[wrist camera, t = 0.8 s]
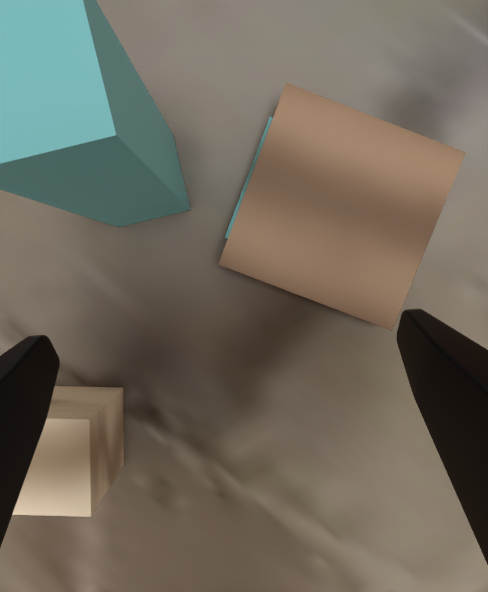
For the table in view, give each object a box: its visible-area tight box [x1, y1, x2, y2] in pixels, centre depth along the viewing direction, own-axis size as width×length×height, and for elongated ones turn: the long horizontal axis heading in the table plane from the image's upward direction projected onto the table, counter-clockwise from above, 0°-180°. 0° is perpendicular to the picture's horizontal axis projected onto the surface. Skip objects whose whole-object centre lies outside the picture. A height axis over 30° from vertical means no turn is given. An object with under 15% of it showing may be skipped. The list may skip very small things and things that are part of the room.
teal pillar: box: [0, 0, 191, 227], centre depth 16 cm, size 4×4×12 cm
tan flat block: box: [218, 83, 465, 330], centre depth 21 cm, size 10×10×3 cm
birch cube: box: [12, 386, 124, 517], centre depth 21 cm, size 5×5×5 cm
